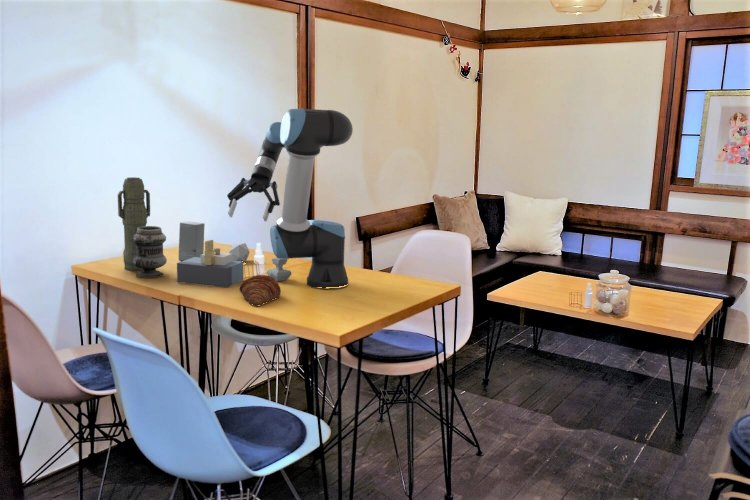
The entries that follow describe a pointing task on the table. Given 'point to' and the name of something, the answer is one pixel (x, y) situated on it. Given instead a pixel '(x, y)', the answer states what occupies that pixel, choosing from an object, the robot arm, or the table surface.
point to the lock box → (209, 273)
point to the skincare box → (191, 240)
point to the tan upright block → (209, 253)
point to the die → (239, 251)
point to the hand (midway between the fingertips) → (247, 217)
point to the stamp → (279, 270)
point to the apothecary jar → (149, 251)
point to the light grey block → (219, 257)
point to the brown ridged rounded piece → (260, 289)
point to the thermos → (132, 216)
